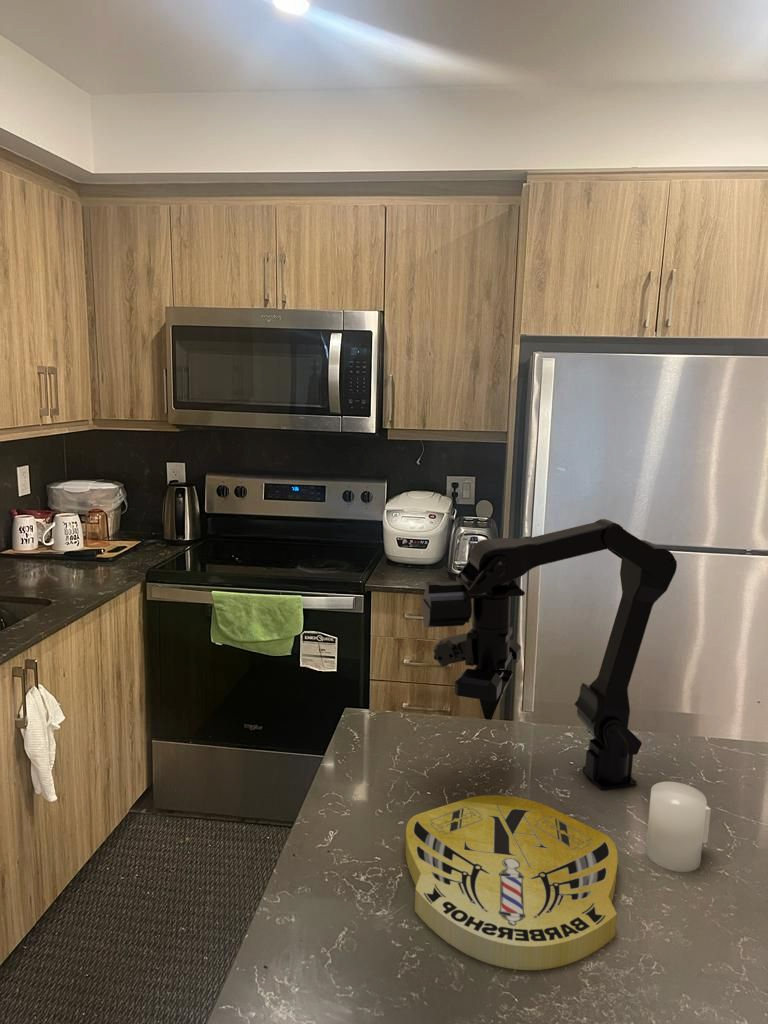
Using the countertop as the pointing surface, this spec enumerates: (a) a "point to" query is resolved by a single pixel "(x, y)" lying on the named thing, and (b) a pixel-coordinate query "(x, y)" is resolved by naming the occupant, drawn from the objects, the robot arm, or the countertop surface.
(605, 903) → the sign
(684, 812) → the night light
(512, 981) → the countertop surface
